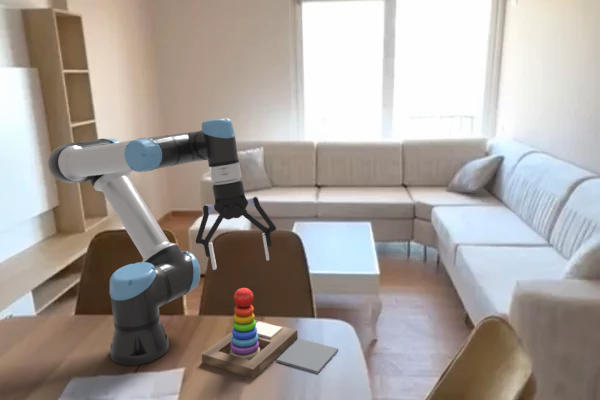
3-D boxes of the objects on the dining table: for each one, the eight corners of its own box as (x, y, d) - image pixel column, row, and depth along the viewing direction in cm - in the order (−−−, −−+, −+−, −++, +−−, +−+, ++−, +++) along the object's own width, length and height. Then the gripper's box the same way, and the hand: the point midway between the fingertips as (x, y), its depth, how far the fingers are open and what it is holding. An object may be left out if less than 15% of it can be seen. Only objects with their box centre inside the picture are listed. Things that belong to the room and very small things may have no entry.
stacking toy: (255, 364, 126) (252, 296, 122) (226, 361, 128) (221, 294, 124) (264, 348, 134) (261, 284, 130) (235, 346, 136) (232, 282, 131)
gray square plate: (276, 361, 128) (276, 359, 127) (298, 340, 138) (298, 338, 138) (317, 373, 122) (317, 371, 122) (338, 350, 132) (338, 348, 132)
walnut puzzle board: (202, 362, 128) (201, 351, 127) (250, 326, 147) (250, 316, 146) (253, 378, 120) (252, 367, 120) (297, 338, 139) (297, 328, 138)
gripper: (174, 191, 118) (190, 276, 121) (277, 175, 120) (290, 259, 123) (178, 188, 126) (194, 268, 129) (276, 172, 127) (288, 251, 131)
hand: (241, 263), depth 126 cm, fingers open, 13 cm apart
